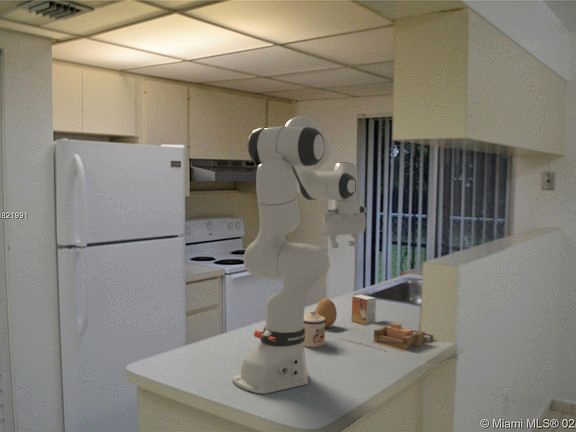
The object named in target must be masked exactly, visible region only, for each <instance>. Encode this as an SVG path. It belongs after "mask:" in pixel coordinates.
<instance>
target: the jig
mask: <svg viewBox="0 0 576 432" xmlns="http://www.w3.org/2000/svg"><path fill="white" fill-rule="evenodd" d="M389 326H390V325H386V326H384V327H380V328H377V329H374V331H373V341H372V343H373V344H378V345H380V346H384V347H387V348H390V349H394V350H398V351H400V352H401V351H402V352H405V351H408V350H411V349H413V348H417V347H419V346H422V345H424V344H427V343H431V342H433V341H436V339H435V338H434V334H430V333H426V332H425V331H418V330H414V329H412V330H413V332H416V334H413V335H409V336H406V337H403V341H402V340H399V339H395V338H391V337H388V336H387V327H389ZM425 335H428V336H431V341H428V342H427V337H425Z"/></svg>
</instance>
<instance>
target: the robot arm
mask: <svg viewBox="0 0 576 432" xmlns="http://www.w3.org/2000/svg"><path fill="white" fill-rule="evenodd" d="M247 140H248V141H247V151H248V154H249V157H250V159H251V161H252V162H253V163H254V165H255V167H256V168H257V169H256V178H255V179H256V180H255V182H256V185H255V187H256V188H255V189H256V197H257V199H256V200H257V206H258V214H259V229H258V234H257V236H256V238H255V239H254V240H253V242H251V243H250V244H249V245H248V246H247V247H246V249H245V251H244V254H243V264H244V268H245V270H246V272H247V273H248V274H249V275H253V276H256V277H258V278H262V279H265V280H266V279H268V280H277V281H278V280H279V281H283V288H282V290H281V291H278V292H276V293H274V294H272V295H270V296H269V297H268V299H267V301H266V303H265V325H264V327H263V330H262V331H260V330H258V329H257V330H255V331H254V332H253V336H254V338H256V339H257V338H258V339H260V341H259V342H258V343H257V345H255V347H254V348H253V349H252V350H251V351H250V352H249V353H248V354H247V355H246V356H245V357H244V358H243V360H242V363H241V367H240V368H241V369H240V373H238V374H236V375H233V376H232V383H233V384H234V385H236V386H237V387H239V388H241V389H243V390H246V391H248V392H252V393H256V394H263V395H264V394H269V393H273V392H274V393H275V392H278V391H283V390H287V389H291V388H296V387H300V386H304V385H309V379H308V377H309V373H308V370H307V364H306V354H305V353H306V352H305V346H304V343H303V342H304V340H305V328H304V327H303V326H304V315H305V308H306V307H305V306H306V301H307V297H308V296H309V294H310V292H311V290H313V288H314V287H315V286H316V285H317V284H318V283H319V282H321V281H322V280H323V279H325V277H326V276H327V275H328V273H329V270H330V258H329V255H328V253H327V251H326V250H325V249H324V248H323V247H320V246H318V245H313V244H310V243H300V242H290V241H289V242H288V241H286V239H285V235H287V234H290V233H291V232H293V231H294V230H295V229H297V227H299V226H298V225H299V224H300V220H301V214H300V207H299V198H298V191H297V183H298V187H299V191H300V194H301V196H303V198H305V199H306V200H307V201H314V200H315V201H316V200H324V201H325V200H328V201H332V203H331V204H332V206H331V207H332V208H328V209H326V211H325V212H324V214H323V215H324V216H323V219H322V226H321V233H322V235H323V236H326V237H329V240H330V242H331V248H333V249H338V248H339V242H337V238H338V237H337V236H344V235H350V236H351V238H350V240H348V246H349V247H355V246H356V241H357V239H358V237H359V236H358V235H359V234H363V233H365V230H366V227H367V225H366V223H367V222H366V221H367V218H366V215H365V214H366V212H367V207H365V206H363V205H361V204H359V203H358V197H357V191H358V187H359V186H358V185H359V183H358V182H359V181H358V169H357V166H356V165H355V163H351V162H346V161H345V162H341V161H340V162H337V163H336V164H335V165H334V171H315V170H319V168H322V167H323V166H324V165H325V164H326V162H327V161H328V159H329V157H330V153H331V148H330V143H329V141H328V140H327V137H326V136H325V134H324V133H323V132H322V130H321V129H320V128H319V127H318V125H317V124H316V123H315V122H314V121H312V120H311V118H309V117H307V116H305V115H304V116H303V115H297V116H294V117H292V118H290V119H289V120H288V121H287V122H286V124H285V125H280V126H279V125H278V126H270V127H266V126H264V127H263V126H262V127H259V128H255V129H254V130H252V132H251V134H250V135H249V136H248V139H247ZM295 179H296V180H297V183H296V181H295Z"/></svg>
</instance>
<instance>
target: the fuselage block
mask: <svg viewBox="0 0 576 432" xmlns="http://www.w3.org/2000/svg"><path fill="white" fill-rule="evenodd" d="M388 326H389V327H387V336H388V337H391V338H395V339H399V340H402V341H403V337H406V336H409V335H413V330H414V329H411V328H406V327H403V326H402V324H401V323H399V322H398V323H397V322H391V323H389V325H388Z"/></svg>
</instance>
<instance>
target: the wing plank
mask: <svg viewBox="0 0 576 432" xmlns="http://www.w3.org/2000/svg"><path fill="white" fill-rule="evenodd" d="M413 334H416V332H413ZM425 337H427V342H428V341H431V336H428V335H425ZM431 342H432V341H431ZM428 343H429V342H428Z"/></svg>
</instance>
